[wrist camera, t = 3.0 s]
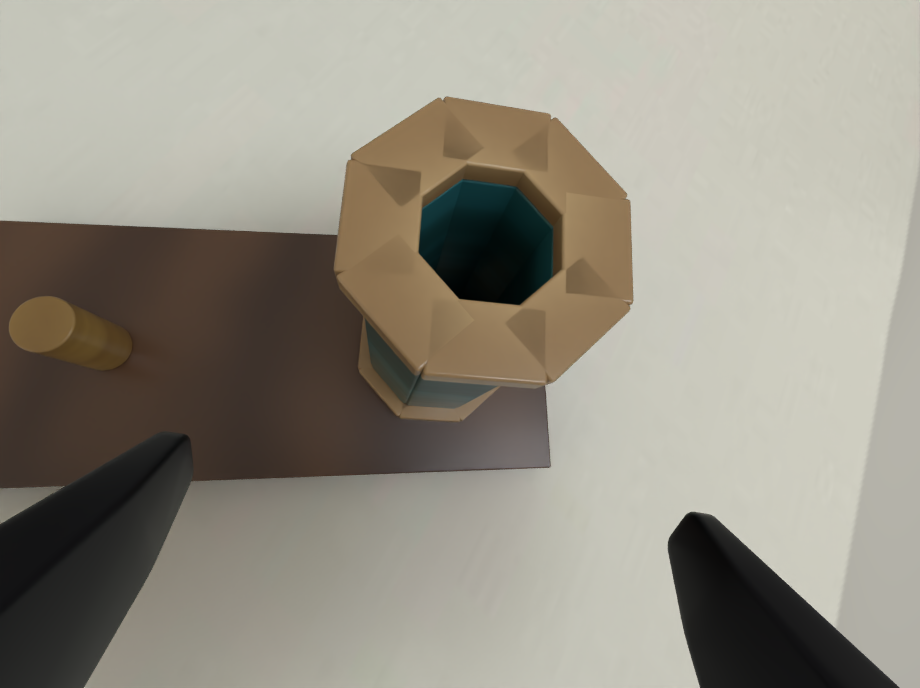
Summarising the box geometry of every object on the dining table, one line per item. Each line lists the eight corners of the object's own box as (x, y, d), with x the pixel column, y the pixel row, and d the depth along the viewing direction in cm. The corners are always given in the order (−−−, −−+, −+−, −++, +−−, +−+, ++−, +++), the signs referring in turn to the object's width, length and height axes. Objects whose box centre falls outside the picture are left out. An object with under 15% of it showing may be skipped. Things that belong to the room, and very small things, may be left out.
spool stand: (528, 253, 23) (564, 204, 18) (542, 466, 20) (586, 471, 16) (9, 233, 19) (-107, 166, 15) (-40, 488, 17) (-194, 502, 12)
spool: (530, 357, 20) (694, 257, 10) (426, 452, 19) (483, 457, 8) (440, 254, 21) (501, 49, 10) (330, 339, 19) (263, 203, 8)
